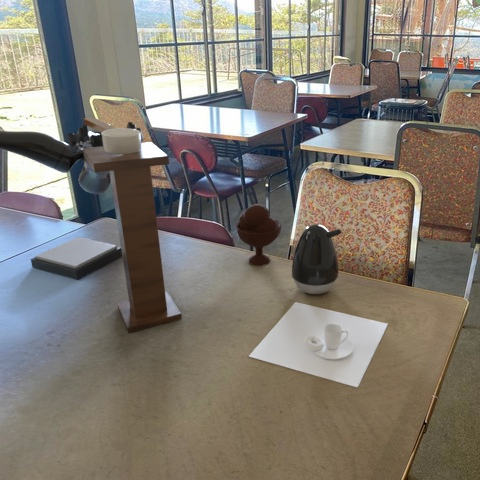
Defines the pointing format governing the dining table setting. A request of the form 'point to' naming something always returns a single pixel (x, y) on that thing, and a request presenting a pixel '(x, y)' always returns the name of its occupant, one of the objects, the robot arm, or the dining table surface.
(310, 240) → the pump dispenser
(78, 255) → the scale
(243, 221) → the ice cream bowl
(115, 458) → the dining table surface
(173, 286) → the dining table surface
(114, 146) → the white handled cylinder
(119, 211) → the wooden lectern stand
